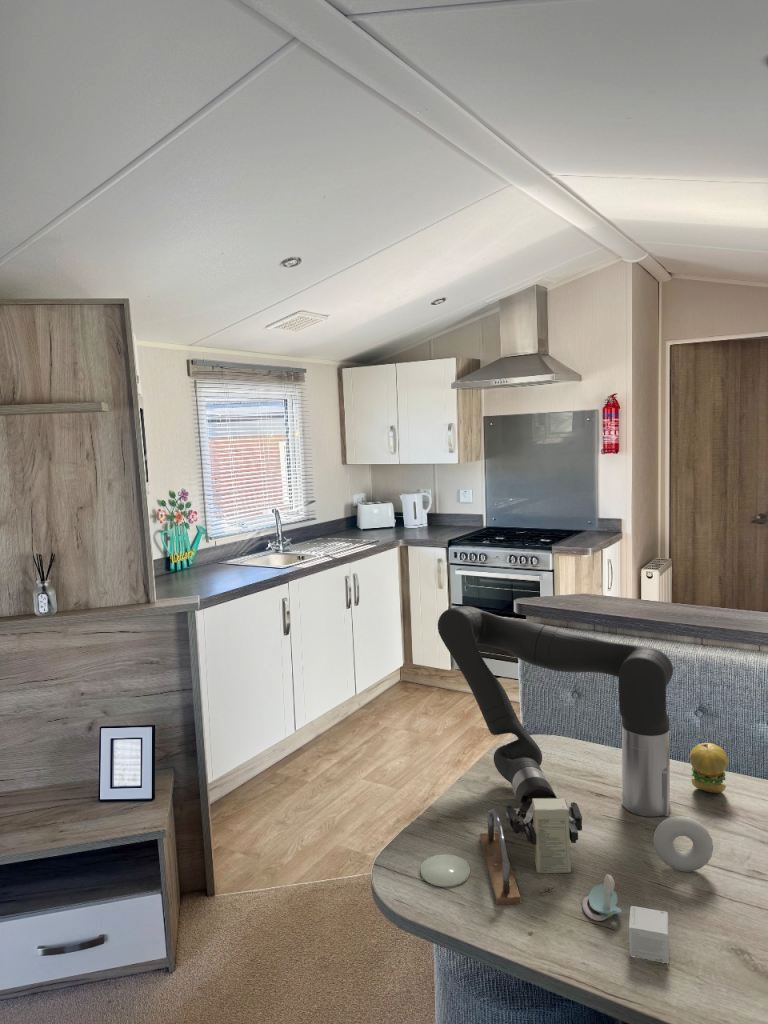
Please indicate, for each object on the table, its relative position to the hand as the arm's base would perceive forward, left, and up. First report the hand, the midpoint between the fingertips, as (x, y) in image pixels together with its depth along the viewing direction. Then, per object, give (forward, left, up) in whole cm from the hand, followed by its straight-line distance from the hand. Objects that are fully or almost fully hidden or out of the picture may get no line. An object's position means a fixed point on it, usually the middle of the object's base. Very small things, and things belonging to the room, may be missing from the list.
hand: (554, 839), depth 132 cm
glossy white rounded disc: (+19, +6, -7) cm, 21 cm away
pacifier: (-9, +7, -7) cm, 13 cm away
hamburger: (-25, -40, -7) cm, 48 cm away
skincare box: (+1, -2, -7) cm, 7 cm away
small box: (-17, +14, -7) cm, 23 cm away
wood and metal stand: (+10, +2, -7) cm, 12 cm away
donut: (-21, -9, -7) cm, 24 cm away
